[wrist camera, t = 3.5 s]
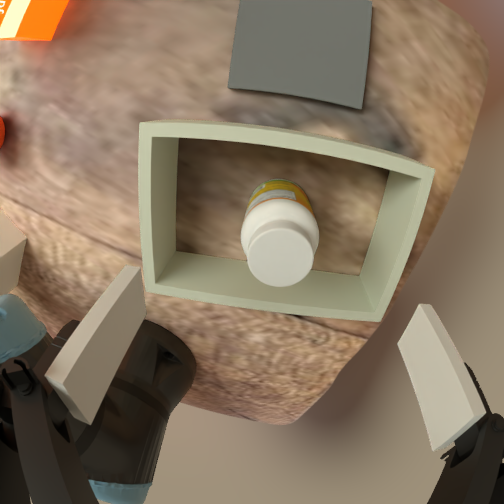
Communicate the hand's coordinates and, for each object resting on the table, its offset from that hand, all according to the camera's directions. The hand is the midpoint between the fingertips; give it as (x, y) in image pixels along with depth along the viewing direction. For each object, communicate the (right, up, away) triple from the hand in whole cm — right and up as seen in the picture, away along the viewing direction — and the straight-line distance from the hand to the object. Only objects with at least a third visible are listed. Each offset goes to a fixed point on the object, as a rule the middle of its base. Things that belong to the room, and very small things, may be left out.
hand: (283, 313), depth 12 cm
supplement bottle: (+1, +7, +13) cm, 15 cm away
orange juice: (-25, +31, +2) cm, 40 cm away
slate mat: (+3, +20, +5) cm, 21 cm away
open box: (+1, +7, +13) cm, 15 cm away
